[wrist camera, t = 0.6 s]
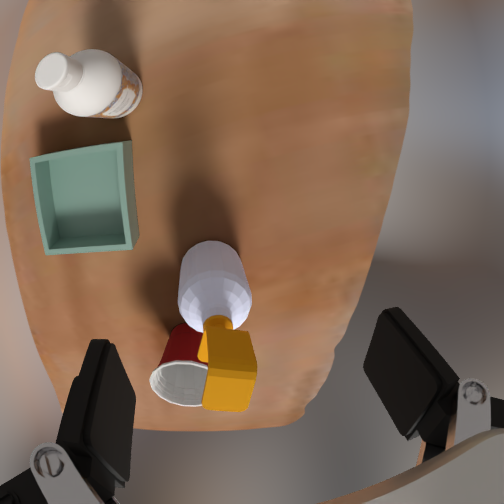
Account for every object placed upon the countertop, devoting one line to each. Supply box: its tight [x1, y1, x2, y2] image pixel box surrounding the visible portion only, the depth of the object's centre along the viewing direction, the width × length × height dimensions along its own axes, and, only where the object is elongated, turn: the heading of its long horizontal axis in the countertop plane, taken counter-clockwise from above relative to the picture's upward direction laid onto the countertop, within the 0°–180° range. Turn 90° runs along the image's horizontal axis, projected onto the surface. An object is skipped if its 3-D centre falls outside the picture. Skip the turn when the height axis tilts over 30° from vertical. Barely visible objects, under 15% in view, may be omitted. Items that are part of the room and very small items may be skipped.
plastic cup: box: [150, 323, 208, 406], centre depth 43 cm, size 11×11×12 cm
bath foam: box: [35, 49, 142, 118], centre depth 23 cm, size 7×7×20 cm
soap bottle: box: [178, 241, 257, 412], centre depth 33 cm, size 9×9×25 cm
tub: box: [30, 140, 139, 255], centre depth 34 cm, size 14×14×5 cm
